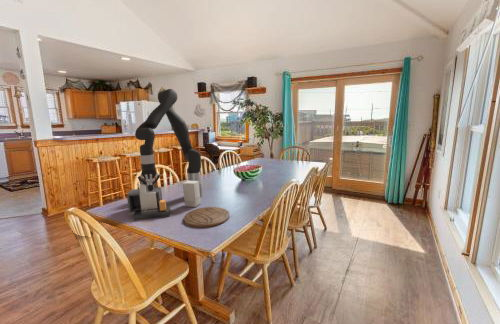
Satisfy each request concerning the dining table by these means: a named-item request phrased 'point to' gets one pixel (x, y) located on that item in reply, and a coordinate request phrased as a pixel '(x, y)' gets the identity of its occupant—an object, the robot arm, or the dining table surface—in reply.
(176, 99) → the robot arm
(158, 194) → the dark grey stand
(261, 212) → the dining table surface
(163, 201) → the fader
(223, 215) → the trivet
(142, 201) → the sliding door
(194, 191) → the skincare box
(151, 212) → the console
